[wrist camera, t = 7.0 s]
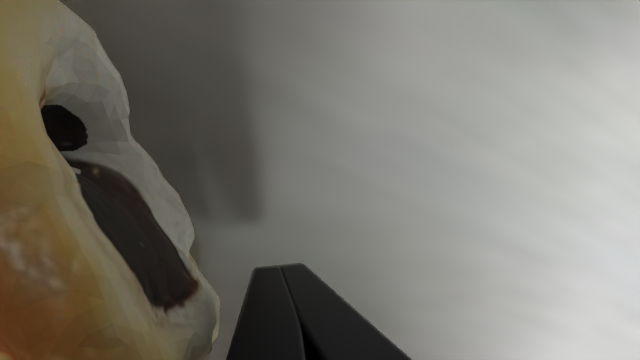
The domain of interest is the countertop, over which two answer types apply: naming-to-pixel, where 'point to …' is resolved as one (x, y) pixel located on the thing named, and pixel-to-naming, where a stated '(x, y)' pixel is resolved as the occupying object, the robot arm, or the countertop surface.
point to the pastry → (86, 209)
